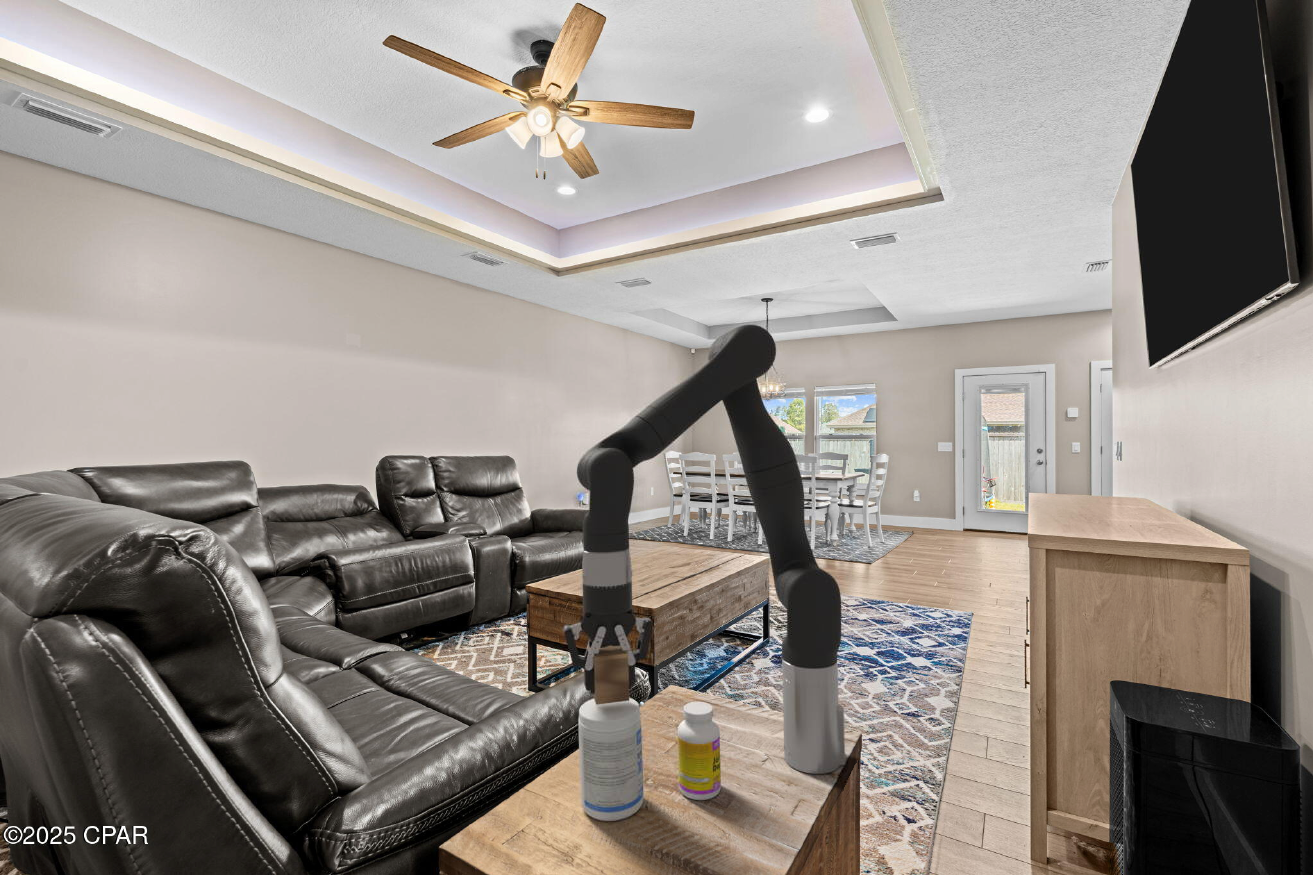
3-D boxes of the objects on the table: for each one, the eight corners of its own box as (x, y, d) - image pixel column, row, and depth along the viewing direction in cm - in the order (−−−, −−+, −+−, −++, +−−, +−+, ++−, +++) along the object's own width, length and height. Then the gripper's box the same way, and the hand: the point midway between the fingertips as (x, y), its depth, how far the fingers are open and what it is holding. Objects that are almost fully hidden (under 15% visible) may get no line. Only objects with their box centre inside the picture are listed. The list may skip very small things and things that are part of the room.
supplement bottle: (719, 804, 90) (716, 718, 90) (675, 800, 91) (673, 715, 91) (723, 779, 96) (721, 700, 96) (682, 775, 98) (680, 697, 98)
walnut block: (623, 687, 94) (622, 642, 94) (629, 700, 89) (628, 653, 89) (591, 691, 93) (590, 646, 93) (595, 704, 88) (594, 657, 88)
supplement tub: (654, 811, 88) (652, 711, 89) (595, 832, 84) (593, 727, 84) (626, 779, 97) (624, 689, 97) (571, 797, 92) (569, 702, 93)
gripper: (647, 570, 96) (650, 675, 96) (558, 576, 93) (560, 686, 93) (658, 580, 89) (661, 694, 89) (561, 587, 85) (564, 706, 85)
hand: (609, 689), depth 91 cm, fingers closed on walnut block, 5 cm apart
